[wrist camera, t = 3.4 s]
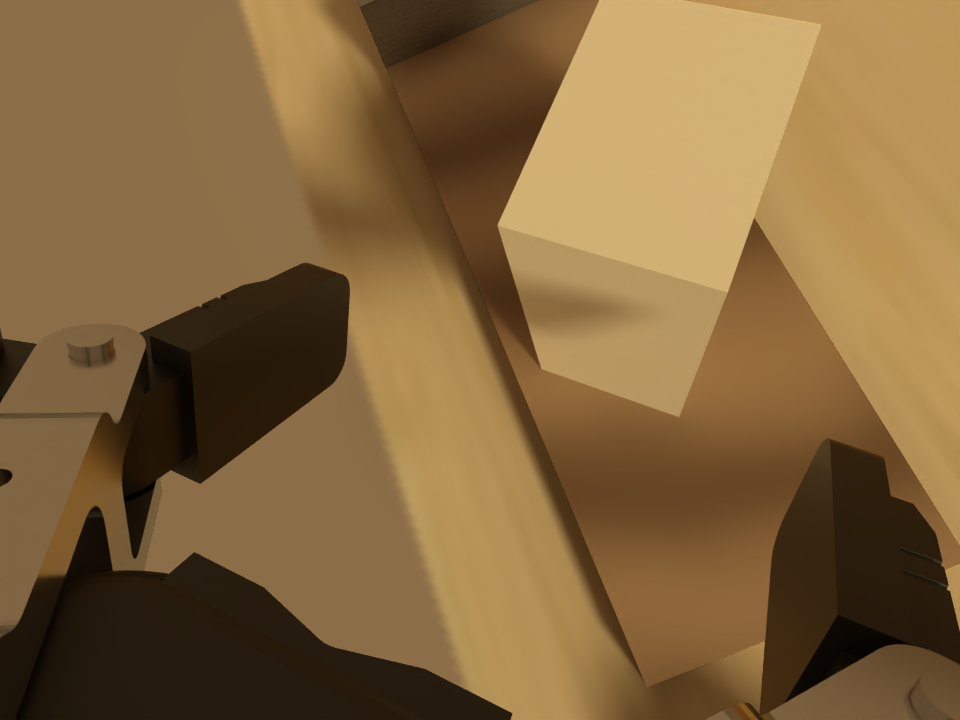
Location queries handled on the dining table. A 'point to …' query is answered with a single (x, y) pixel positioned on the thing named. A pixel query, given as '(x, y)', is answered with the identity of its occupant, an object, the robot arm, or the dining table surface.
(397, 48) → the rail
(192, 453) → the robot arm
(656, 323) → the carton
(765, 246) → the shelf board
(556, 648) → the dining table surface
